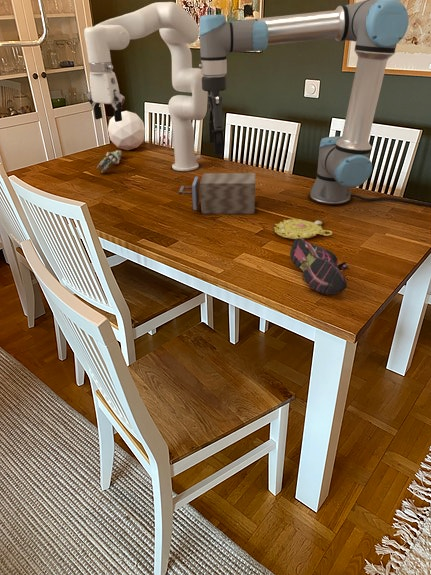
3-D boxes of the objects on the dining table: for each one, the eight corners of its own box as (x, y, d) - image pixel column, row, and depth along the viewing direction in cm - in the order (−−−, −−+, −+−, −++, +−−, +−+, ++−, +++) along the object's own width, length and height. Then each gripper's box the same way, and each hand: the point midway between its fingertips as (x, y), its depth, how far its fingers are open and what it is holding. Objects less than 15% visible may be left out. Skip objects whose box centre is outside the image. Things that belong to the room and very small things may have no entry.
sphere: (121, 160, 244) (102, 128, 241) (152, 143, 246) (133, 111, 243) (119, 152, 225) (98, 116, 222) (153, 133, 227) (132, 97, 225)
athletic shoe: (333, 284, 107) (372, 276, 111) (293, 223, 119) (330, 218, 123) (316, 311, 116) (353, 303, 120) (281, 252, 127) (315, 246, 132)
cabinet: (201, 213, 162) (199, 183, 156) (204, 202, 172) (203, 173, 165) (254, 213, 161) (255, 183, 154) (254, 202, 170) (255, 173, 164)
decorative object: (286, 211, 157) (342, 219, 147) (286, 217, 158) (341, 226, 148) (260, 233, 142) (319, 243, 133) (260, 240, 144) (319, 251, 134)
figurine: (101, 154, 197) (119, 141, 223) (91, 167, 200) (110, 152, 227) (114, 165, 199) (130, 151, 225) (103, 178, 203) (121, 162, 229)
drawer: (178, 210, 163) (176, 185, 158) (182, 200, 171) (180, 176, 166) (242, 210, 161) (242, 185, 156) (243, 200, 169) (243, 176, 164)
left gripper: (127, 67, 151) (133, 120, 161) (90, 66, 159) (98, 116, 168) (112, 70, 146) (119, 124, 155) (75, 68, 154) (84, 119, 163)
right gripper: (197, 71, 141) (201, 138, 153) (205, 82, 121) (208, 159, 132) (221, 70, 142) (222, 137, 153) (232, 80, 121) (233, 158, 133)
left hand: (108, 119), depth 162 cm, fingers open, 9 cm apart
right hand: (216, 148), depth 143 cm, fingers open, 13 cm apart
